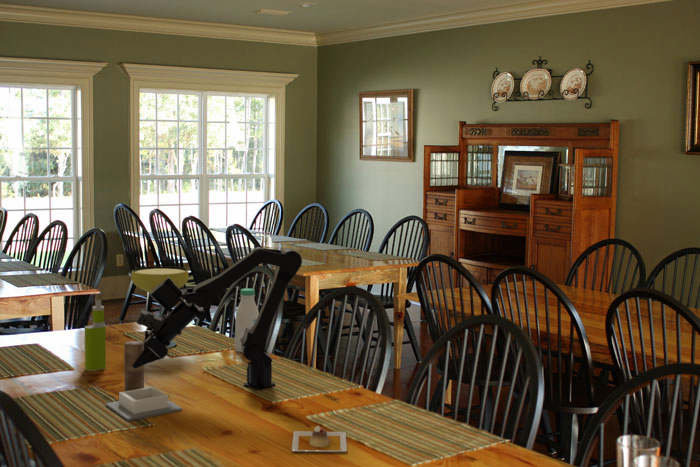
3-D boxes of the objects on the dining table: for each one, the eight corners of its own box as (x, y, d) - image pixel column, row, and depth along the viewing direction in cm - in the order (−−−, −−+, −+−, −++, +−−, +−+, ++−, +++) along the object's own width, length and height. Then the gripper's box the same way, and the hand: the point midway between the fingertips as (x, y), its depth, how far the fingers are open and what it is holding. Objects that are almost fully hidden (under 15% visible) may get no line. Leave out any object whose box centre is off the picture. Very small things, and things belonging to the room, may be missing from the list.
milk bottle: (247, 354, 253) (247, 292, 251) (230, 350, 258) (230, 289, 256) (264, 350, 260) (264, 289, 257) (247, 346, 264) (247, 286, 262)
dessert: (345, 436, 185) (345, 416, 185) (346, 456, 173) (347, 434, 173) (293, 435, 185) (293, 415, 184) (291, 455, 173) (291, 434, 172)
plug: (147, 391, 214) (147, 343, 212) (132, 395, 210) (132, 346, 208) (136, 387, 217) (135, 340, 215) (120, 391, 213) (120, 343, 211)
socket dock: (157, 396, 210) (157, 382, 209) (181, 410, 199) (181, 396, 198) (105, 405, 201) (105, 391, 201) (128, 421, 190) (127, 406, 190)
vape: (108, 368, 235) (107, 300, 232) (89, 371, 230) (88, 303, 228) (102, 365, 237) (101, 299, 235) (83, 368, 233) (82, 301, 231)
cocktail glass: (146, 355, 250) (146, 276, 247) (122, 343, 263) (122, 268, 261) (198, 347, 261) (198, 271, 258) (172, 336, 275) (172, 264, 272)
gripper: (155, 293, 221) (113, 333, 220) (154, 307, 203) (109, 350, 202) (184, 321, 224) (143, 360, 222) (185, 336, 205) (141, 380, 204)
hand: (134, 362), depth 212 cm, fingers open, 9 cm apart
